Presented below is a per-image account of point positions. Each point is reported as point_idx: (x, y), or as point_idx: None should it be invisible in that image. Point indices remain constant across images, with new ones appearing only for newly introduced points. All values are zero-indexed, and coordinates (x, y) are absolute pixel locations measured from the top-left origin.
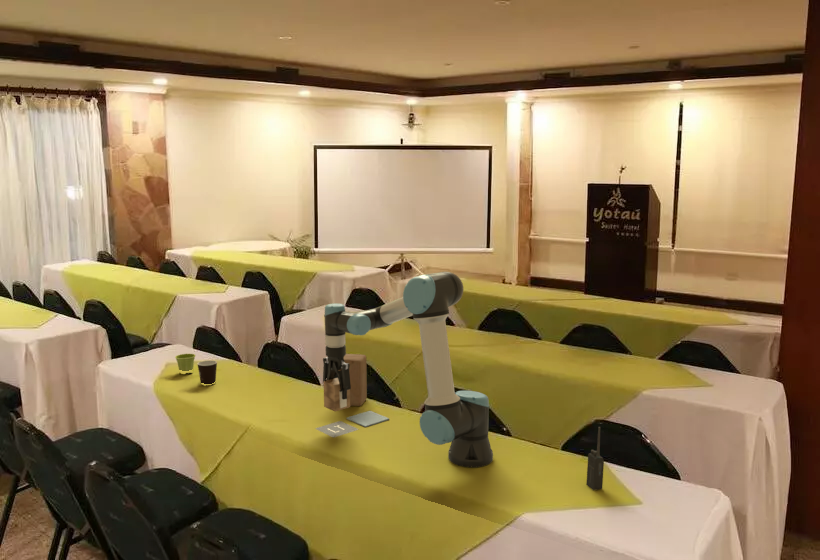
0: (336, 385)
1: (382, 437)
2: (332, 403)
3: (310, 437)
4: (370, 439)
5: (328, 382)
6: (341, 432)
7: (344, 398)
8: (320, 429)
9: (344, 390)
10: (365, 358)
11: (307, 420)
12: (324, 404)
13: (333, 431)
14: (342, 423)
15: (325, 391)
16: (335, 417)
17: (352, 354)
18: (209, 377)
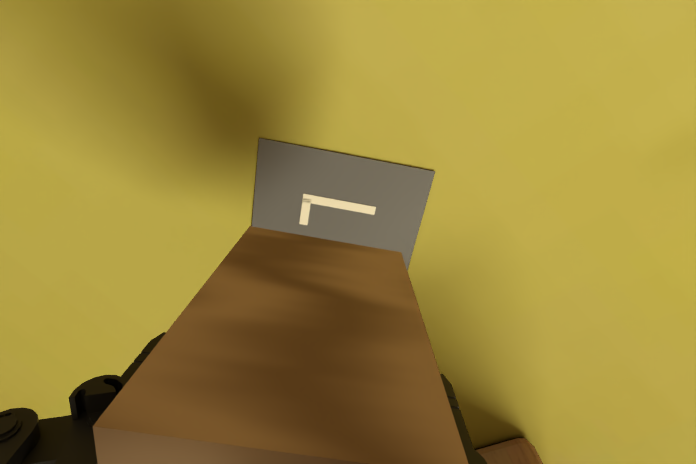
0: (108, 448)
1: (98, 283)
2: (270, 257)
3: (366, 57)
4: (113, 236)
5: None
6: (280, 216)
7: (154, 344)
8: (399, 180)
9: (31, 410)
10: None
11: (547, 233)
12: (399, 261)
13: (322, 201)
14: None
15: (391, 338)
16: (444, 334)
17: None
18: None
